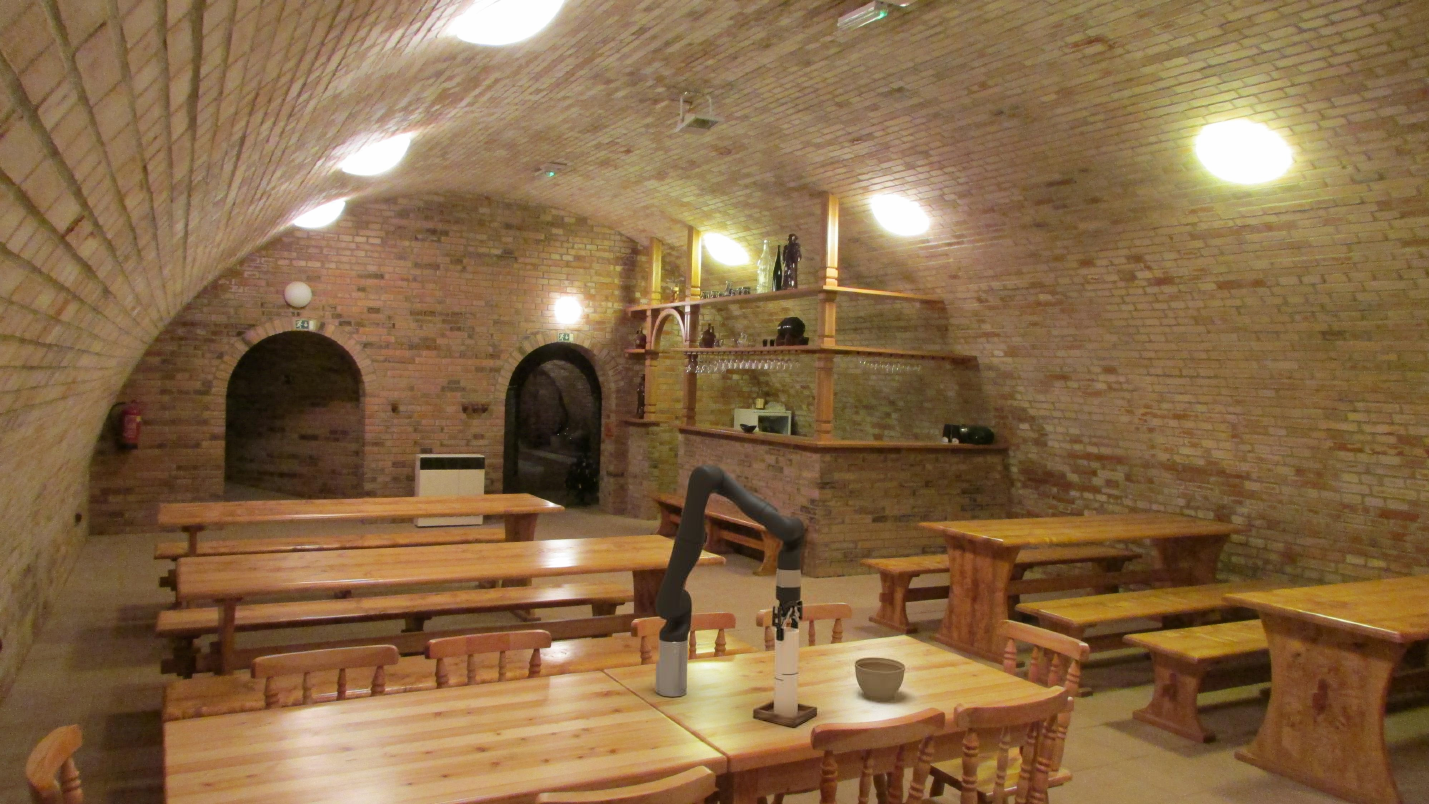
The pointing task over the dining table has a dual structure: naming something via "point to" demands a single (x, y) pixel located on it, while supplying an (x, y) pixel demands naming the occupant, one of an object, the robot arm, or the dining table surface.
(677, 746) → the dining table surface
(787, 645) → the cylindrical container
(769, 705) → the walnut tray
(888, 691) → the planter bowl
